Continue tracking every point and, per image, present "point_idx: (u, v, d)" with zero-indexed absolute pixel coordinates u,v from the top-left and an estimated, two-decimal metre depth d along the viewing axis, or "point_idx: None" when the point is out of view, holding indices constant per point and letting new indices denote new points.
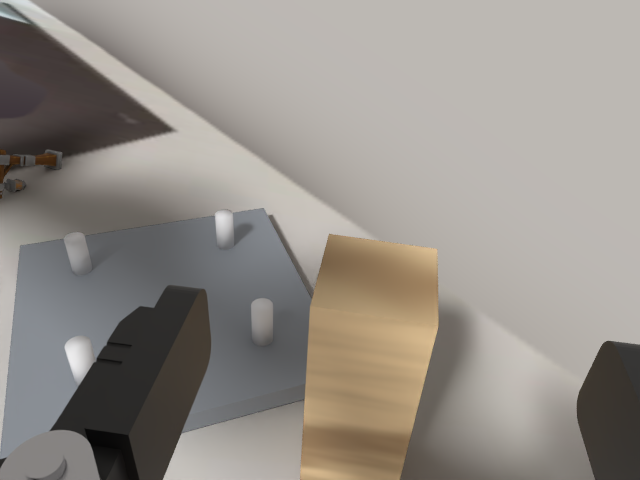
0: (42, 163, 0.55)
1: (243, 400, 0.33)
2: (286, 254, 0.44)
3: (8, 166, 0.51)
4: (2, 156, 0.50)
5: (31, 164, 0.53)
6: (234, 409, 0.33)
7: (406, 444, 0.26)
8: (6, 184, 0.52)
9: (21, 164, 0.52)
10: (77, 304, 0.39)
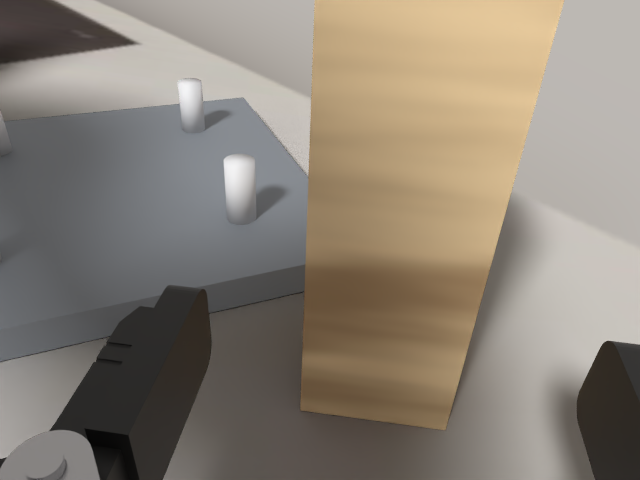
0: None
1: (213, 284, 0.22)
2: (273, 137, 0.34)
3: None
4: None
5: None
6: None
7: (481, 288, 0.15)
8: None
9: None
10: None
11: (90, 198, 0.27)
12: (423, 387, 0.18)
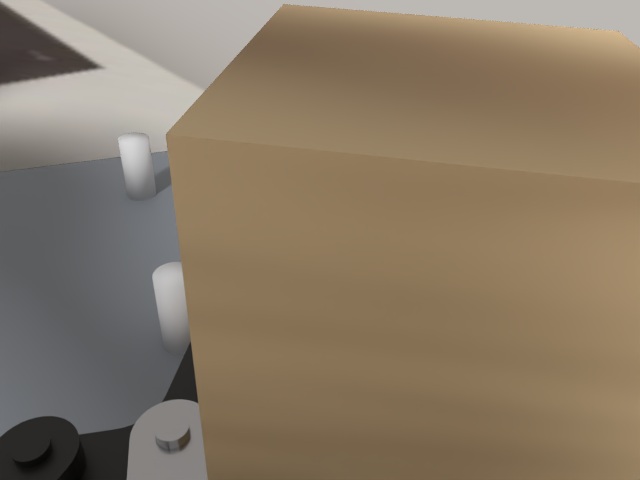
0: None
1: None
2: None
3: None
4: None
5: None
6: None
7: None
8: None
9: None
10: None
11: None
12: None
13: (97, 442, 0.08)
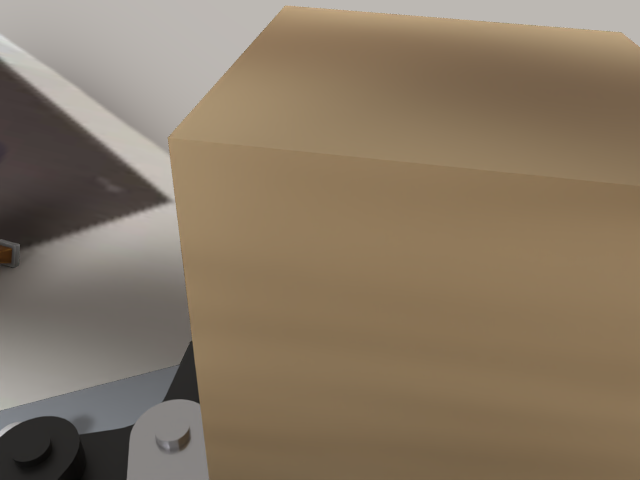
0: None
1: None
2: None
3: None
4: None
5: None
6: None
7: None
8: None
9: None
10: None
11: None
12: None
13: (98, 442, 0.08)
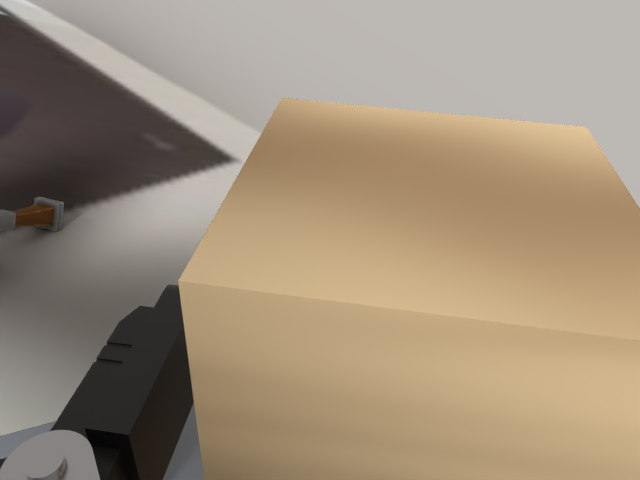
0: (29, 223, 0.31)
1: None
2: None
3: None
4: None
5: (8, 227, 0.29)
6: None
7: None
8: None
9: None
10: None
11: None
12: None
13: None
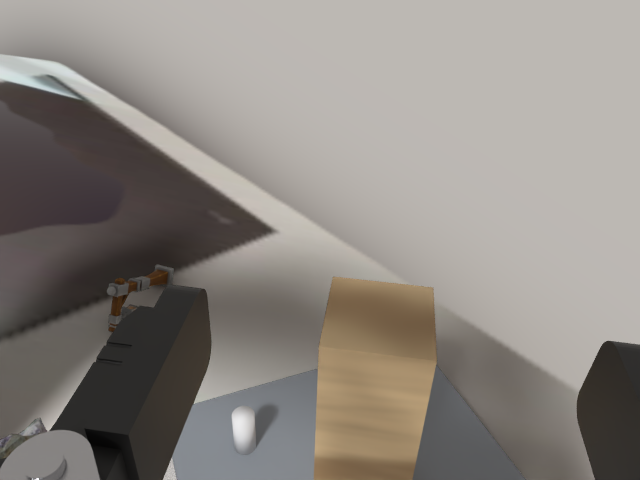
0: (155, 283, 0.49)
1: None
2: (468, 408, 0.39)
3: (125, 294, 0.46)
4: (122, 286, 0.45)
5: (146, 287, 0.48)
6: None
7: (411, 471, 0.27)
8: (122, 314, 0.46)
9: (137, 290, 0.47)
10: None
11: None
12: None
13: None
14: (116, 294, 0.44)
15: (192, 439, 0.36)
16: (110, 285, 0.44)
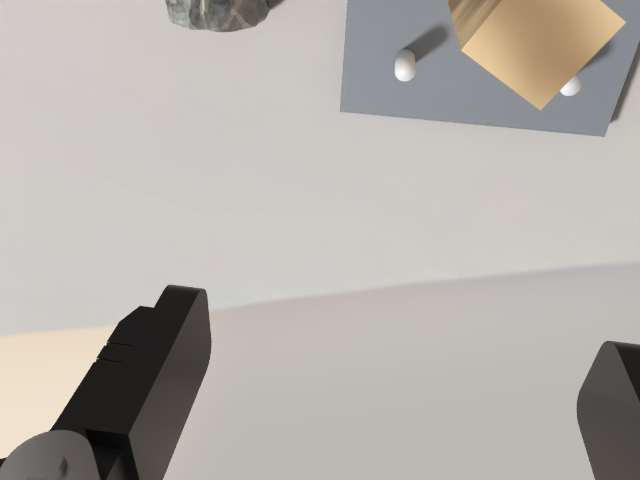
0: None
1: (510, 126, 0.42)
2: None
3: None
4: None
5: None
6: None
7: None
8: None
9: None
10: None
11: None
12: None
13: None
14: None
15: None
16: None
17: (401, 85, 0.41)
